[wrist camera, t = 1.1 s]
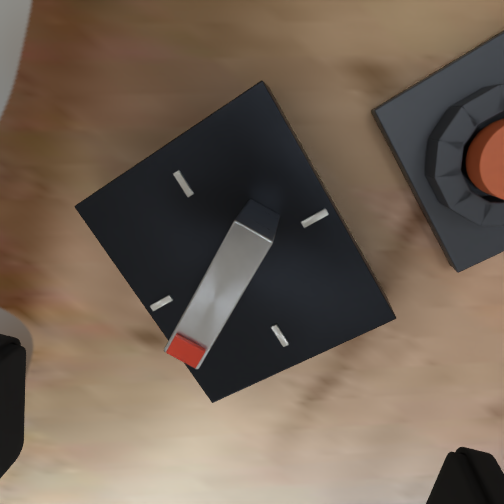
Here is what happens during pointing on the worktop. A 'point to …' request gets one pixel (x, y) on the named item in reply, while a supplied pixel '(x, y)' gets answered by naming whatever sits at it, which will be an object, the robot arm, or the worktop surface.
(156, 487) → the worktop surface
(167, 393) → the worktop surface
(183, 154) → the tap deck
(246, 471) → the worktop surface
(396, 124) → the button block
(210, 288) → the lever
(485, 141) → the button
